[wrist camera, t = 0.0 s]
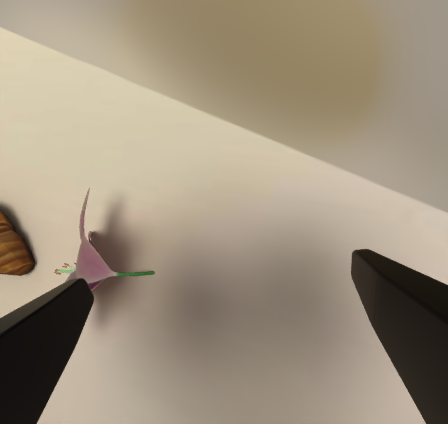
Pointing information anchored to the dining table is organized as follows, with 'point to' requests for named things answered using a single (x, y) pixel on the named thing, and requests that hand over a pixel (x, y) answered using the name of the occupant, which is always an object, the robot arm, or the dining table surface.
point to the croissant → (13, 250)
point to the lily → (92, 261)
